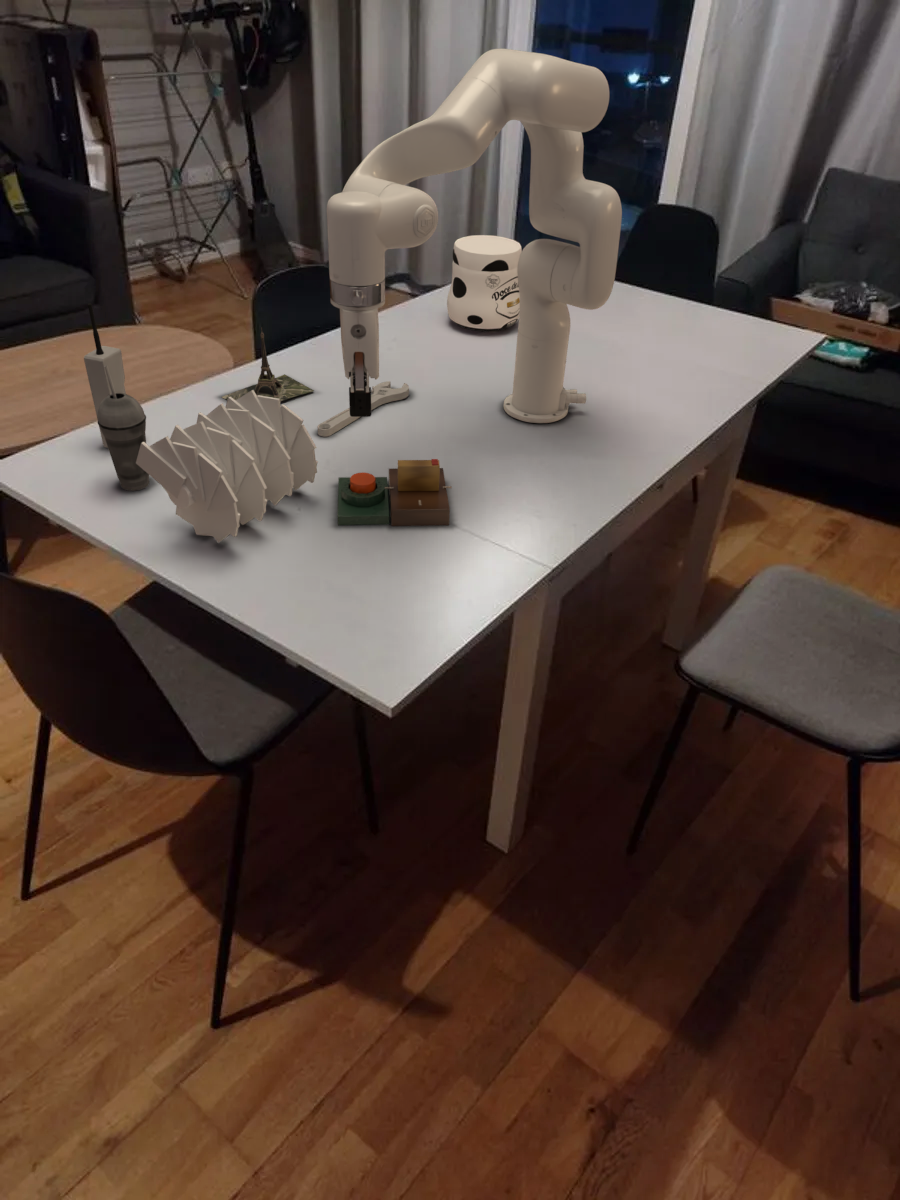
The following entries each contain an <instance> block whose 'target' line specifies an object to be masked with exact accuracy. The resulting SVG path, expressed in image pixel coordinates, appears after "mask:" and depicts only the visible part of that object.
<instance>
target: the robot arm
mask: <svg viewBox="0 0 900 1200" xmlns="http://www.w3.org/2000/svg"><path fill="white" fill-rule="evenodd" d="M609 103H610V85H609V82H608V80H607V78H606V76H605V74H604V73H603V71H601V70H600V69H599V68H597V67H595V66H593V65H592V66H591V65H587V64H583V63H580V62H574V61H571V60H567V59H564V58H561V57H558V56H554V55H550V54H546V53H540V52H533V51H526V50H517V49H510V48H492V49H489V50H487V51H485V52H484V53H483V54H481V55H480V56H479V57H478V58H477V59H476V61H475V62H474V63H473V64H472V65H471V67H470V68H469V69H467V72H465V74H464V75H463V77H461V79H460V80H459V81H458V83H457V84H456V86H455V87H454V88H453V89H452V90H451V91H450V93H449V94H448V96H446V98H445V100H443V101H442V102H441V104H440V105H439V107H437V109H436V110H435V111H434V112H433V113H432V115H430V116H429V117H427V118H425V119H423V120H421V121H418V122H416V123H414V124H412V125H411V126H409V127H407V128H405V129H403V130H401V131H400V132H398V133H396V134H394V135H392V136H390V137H388V138H386V139H385V140H383V141H382V142H380V143H379V144H377V145H376V146H375V147H374V148H372V149H371V151H370V152H368V154H366V156H365V157H364V159H362V161H361V162H360V163H359V165H358V166H357V167H356V168H355V169H354V171H353V172H352V173H351V175H350V176H349V178H348V180H347V181H346V183H345V185H344V187H343V189H342V191H341V192H338V193H335V194H333V195H332V196H331V197H330V198H328V201H327V204H326V226H327V227H326V229H327V251H328V267H329V268H328V273H329V297H330V305H332V306H333V307H335V308H337V309H339V322H340V323H339V324H340V325H339V326H340V340H341V353H342V354H341V355H342V362H343V369H344V370H343V371H344V376H345V378H346V379H348V380H349V381H350V382H349V384H350V385H349V387H348V398H349V399H348V400H349V401H348V402H349V408H350V416H352V417H360V418H363V417H364V418H370V417H371V416H372V410H371V395H372V393H371V390H372V386H370V379H374V380H378V379H379V378H380V328H379V327H380V323H379V308H380V309H381V308H382V307H383V306H384V305H385V304H386V251H387V250H393V249H411V248H415V247H419V246H421V245H423V244H425V243H426V242H427V241H428V240H430V238H432V236H433V235H434V233H435V231H436V230H437V226H438V223H439V210H438V206H437V205H436V202H435V201H434V199H433V198H432V197H431V195H429V194H428V193H427V192H425V191H423V190H421V189H419V188H416V187H412V186H409V185H408V184H410V183H412V182H414V181H416V180H419V179H424V178H426V177H430V176H436V175H442V174H449V173H453V172H455V171H456V172H457V171H461V170H464V169H467V168H469V167H471V166H473V165H475V164H476V163H477V162H478V161H479V159H480V158H481V157H482V155H483V154H484V153H485V151H486V150H487V149H488V147H489V146H490V145H491V144H492V143H493V141H494V140H495V138H497V136H498V135H499V133H500V132H501V131H502V129H503V128H505V126H506V125H507V123H509V122H510V121H519V122H520V123H521V125H522V126H523V128H524V130H525V132H526V134H527V137H528V140H529V145H530V172H529V173H530V174H529V195H528V216H529V222H530V224H531V226H532V227H533V229H535V230H536V231H538V232H540V233H542V234H544V235H548V236H552V237H556V238H559V239H563V240H566V241H571V242H574V243H578V244H579V246H578V245H575V244H572V243H569V242H563V241H561V240H560V241H559V240H556V239H550V238H539V239H538V238H537V239H534V240H532V241H530V242H529V243H527V244H526V245H525V246H524V247H523V249H522V252H521V254H520V257H519V261H518V268H517V274H518V285H519V295H520V311H519V318H518V327H517V336H516V337H517V338H516V349H515V350H516V351H515V360H514V370H513V382H512V393H511V394H509V395H507V396H506V397H505V398H504V400H503V406H502V407H503V410H504V411H505V413H506V414H507V415H508V416H510V417H511V418H513V419H516V420H517V421H522V422H526V423H532V424H548V423H554V422H557V421H560V420H563V419H564V418H565V417H566V416H567V415H568V412H569V406H570V404H579V405H581V404H583V405H584V404H586V403H587V394H586V392H585V393H578V389H566V388H565V387H564V382H565V381H564V380H565V374H566V373H565V372H566V364H567V358H568V350H569V349H568V348H569V339H570V333H571V315H570V311H569V307H568V305H569V306H572V307H576V308H579V309H583V310H588V311H592V310H597V309H600V308H601V307H603V306H604V305H605V304H606V303H607V301H609V299H610V296H611V294H612V292H613V288H614V285H615V278H616V272H617V265H618V256H619V246H620V239H621V238H620V237H621V231H622V229H621V228H622V220H623V209H622V208H623V207H622V202H621V198H620V196H619V193H618V191H617V190H616V189H615V188H614V187H612V186H611V185H609V184H606V183H603V182H600V181H596V180H590V179H586V178H585V176H584V173H583V172H584V171H583V169H584V147H585V145H584V138H583V133H587V132H589V131H592V130H593V129H595V128H596V127H597V126H598V125H599V124H600V123H601V122H602V120H603V118H604V117H605V116H606V113H607V110H608V107H609Z"/></svg>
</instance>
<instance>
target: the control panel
mask: <svg viewBox="0 0 900 1200" xmlns="http://www.w3.org/2000/svg"><path fill="white" fill-rule="evenodd" d="M452 488H453V487H452V486H451V485H449V486H447V483H446V479H445V473H444V468H443V467H440V472H439V491H398V467H397V468H388V487H385V489H388V495H389V511H390V526H391V527H419V526H420V527H429V526H430V527H431V526H433V527H436V526H450V512H451V510H450V502H449V496H448V491H447V489H452Z"/></svg>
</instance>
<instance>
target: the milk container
mask: <svg viewBox="0 0 900 1200" xmlns="http://www.w3.org/2000/svg"><path fill="white" fill-rule="evenodd" d="M452 248H453V249H452V262H451V282H450V286H449V291H448V294H447V297H446V298H447V299H446V308H447V314H448V317H449V319H450V321H452V323H454V324H455V325H457V326H458V327H461V328H464V329H467V330H471V331H475V332H498V331H502V330H507V329H509V328H510V327H512V326H514V325H515V324H516V323H517V322H518V321H519V311H520V295H519V285H518V274H517V268H518V261H519V257H520V254H521V252H522V250H523V249H522V245H521V243H520V242H519V241H517V240H515V239H512V238H508V237H505V236H499V235H489V234H488V235H487V234H477V235H476V234H475V235H474V234H473V235H468V236H467V235H466V236H463V237H460V238H458V239H456V240H455V242H454V243H453V247H452Z"/></svg>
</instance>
